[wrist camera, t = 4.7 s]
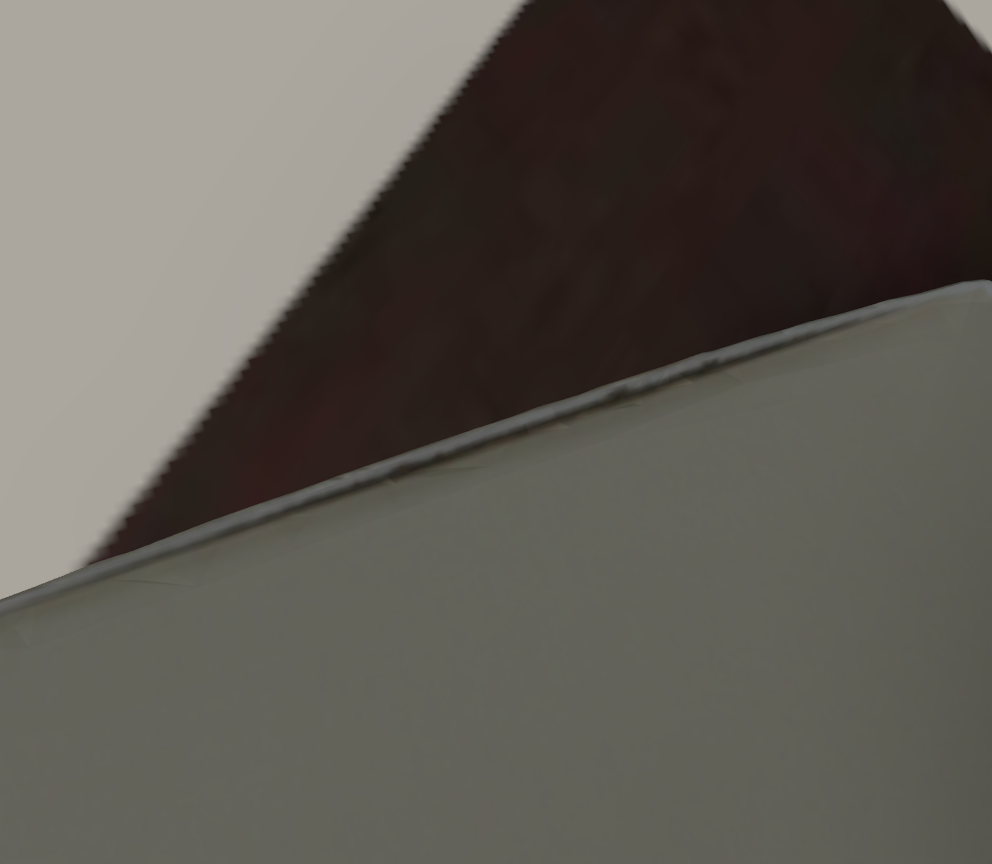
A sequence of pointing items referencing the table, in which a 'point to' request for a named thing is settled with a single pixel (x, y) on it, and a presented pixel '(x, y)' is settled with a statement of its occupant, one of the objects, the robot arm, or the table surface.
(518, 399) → the table surface
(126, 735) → the skincare box
